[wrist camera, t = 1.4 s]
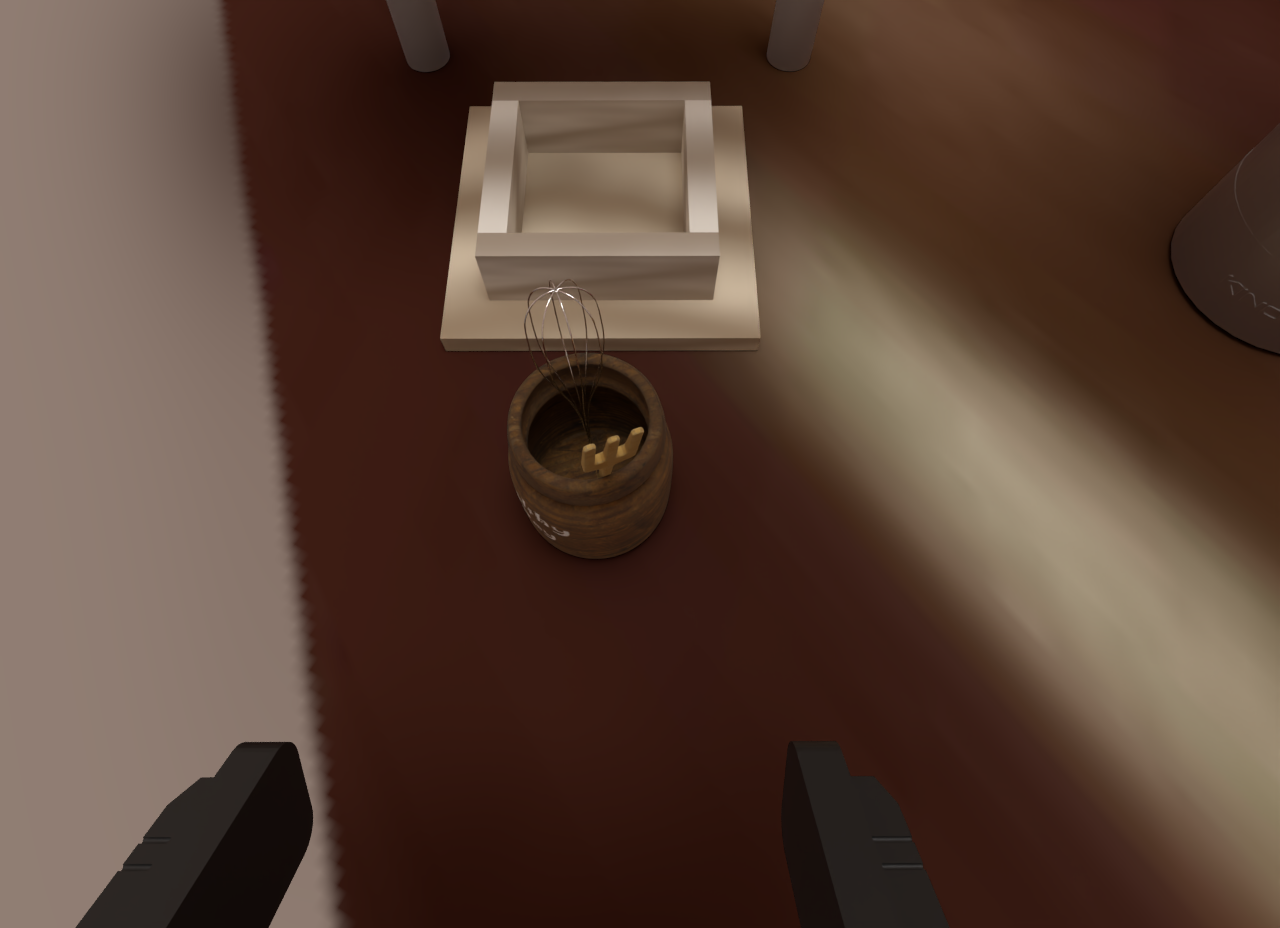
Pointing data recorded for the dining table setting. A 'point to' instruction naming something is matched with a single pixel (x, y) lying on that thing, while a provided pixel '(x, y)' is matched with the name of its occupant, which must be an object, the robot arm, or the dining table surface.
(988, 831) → the dining table surface
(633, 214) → the socket block
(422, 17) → the white bench
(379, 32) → the dining table surface
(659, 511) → the utensil holder
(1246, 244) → the robot arm
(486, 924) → the dining table surface
